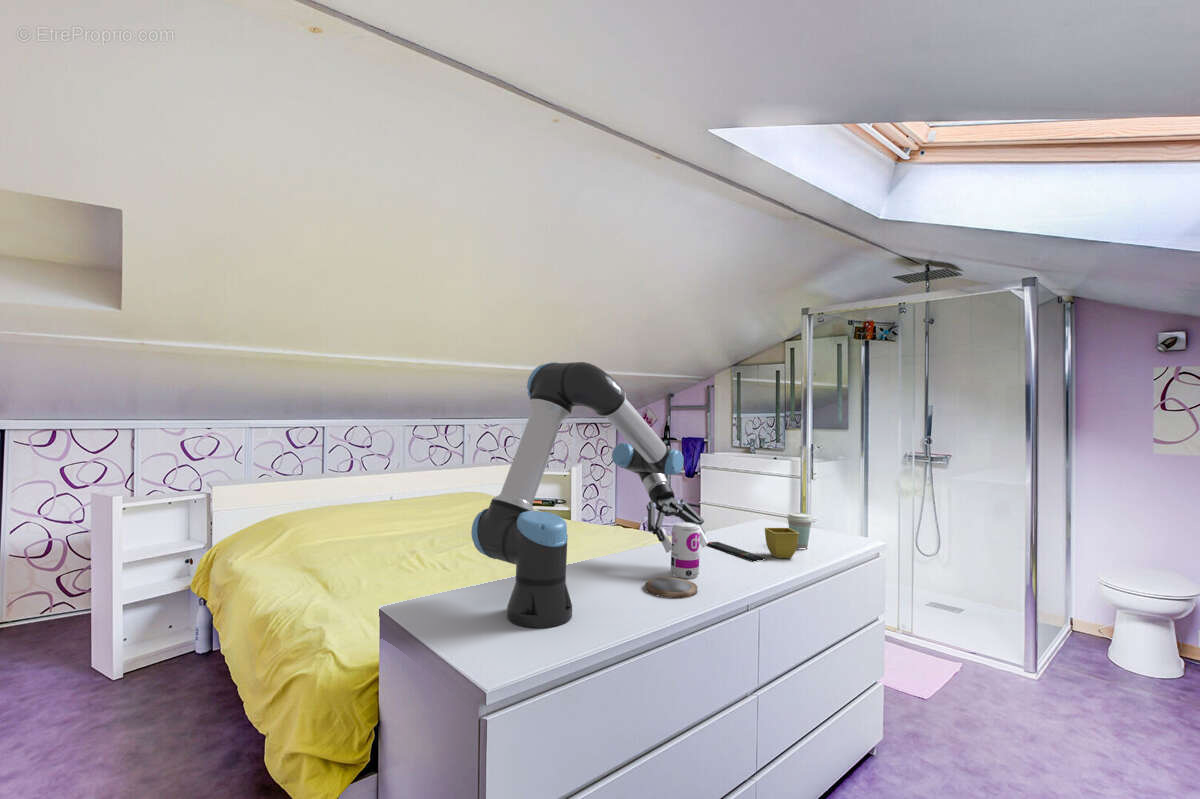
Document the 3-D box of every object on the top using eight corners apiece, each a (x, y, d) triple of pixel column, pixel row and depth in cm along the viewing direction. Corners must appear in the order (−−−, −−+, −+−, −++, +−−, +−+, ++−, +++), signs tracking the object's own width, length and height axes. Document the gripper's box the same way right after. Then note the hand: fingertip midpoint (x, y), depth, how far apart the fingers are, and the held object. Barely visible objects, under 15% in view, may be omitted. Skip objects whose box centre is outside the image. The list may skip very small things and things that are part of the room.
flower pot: (763, 553, 199) (764, 527, 199) (787, 553, 200) (788, 527, 200) (773, 560, 190) (774, 532, 190) (799, 560, 191) (799, 533, 191)
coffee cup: (807, 545, 212) (808, 512, 212) (814, 551, 203) (815, 517, 204) (784, 544, 213) (785, 511, 213) (789, 549, 204) (790, 516, 204)
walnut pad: (666, 601, 146) (666, 596, 146) (635, 585, 158) (635, 581, 158) (708, 593, 153) (708, 588, 154) (675, 579, 166) (675, 574, 166)
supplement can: (704, 576, 169) (705, 525, 169) (683, 581, 164) (685, 528, 164) (685, 569, 175) (686, 520, 176) (665, 573, 171) (666, 523, 171)
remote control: (752, 563, 187) (753, 559, 187) (705, 546, 208) (705, 542, 208) (764, 561, 189) (765, 557, 189) (716, 545, 210) (716, 541, 210)
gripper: (683, 494, 191) (713, 549, 178) (621, 498, 179) (648, 559, 166) (694, 480, 187) (725, 536, 174) (631, 484, 174) (659, 544, 161)
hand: (687, 547), depth 170 cm, fingers open, 13 cm apart
